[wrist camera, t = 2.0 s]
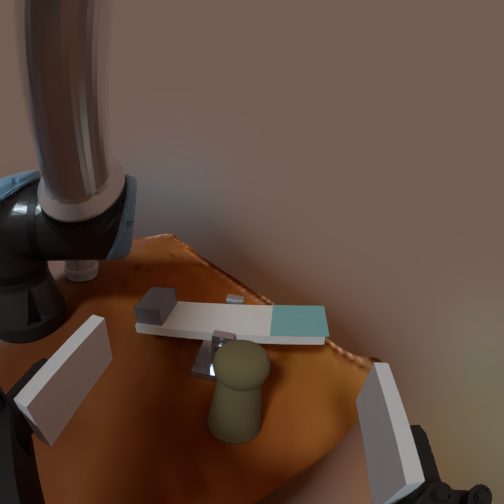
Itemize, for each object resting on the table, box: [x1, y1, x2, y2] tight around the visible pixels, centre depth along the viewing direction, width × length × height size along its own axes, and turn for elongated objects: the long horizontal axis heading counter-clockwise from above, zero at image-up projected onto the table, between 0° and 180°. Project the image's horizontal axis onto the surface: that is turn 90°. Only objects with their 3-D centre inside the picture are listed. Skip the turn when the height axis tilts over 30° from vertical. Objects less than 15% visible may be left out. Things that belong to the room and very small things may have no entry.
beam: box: [134, 287, 329, 345], centre depth 38 cm, size 24×7×4 cm, turn 83°
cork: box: [207, 340, 271, 444], centre depth 27 cm, size 6×6×11 cm
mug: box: [64, 260, 99, 282], centre depth 54 cm, size 8×12×12 cm, turn 173°
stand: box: [191, 294, 245, 381], centre depth 39 cm, size 7×12×7 cm, turn 173°
